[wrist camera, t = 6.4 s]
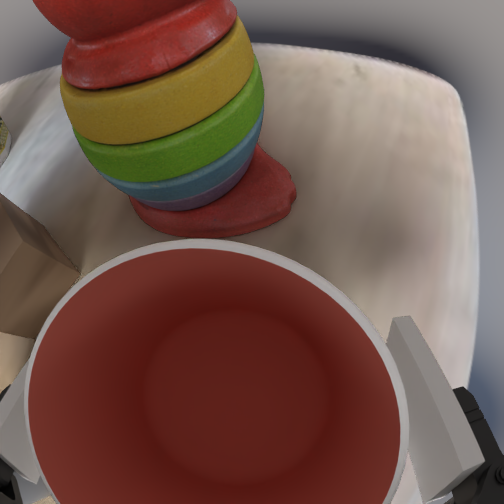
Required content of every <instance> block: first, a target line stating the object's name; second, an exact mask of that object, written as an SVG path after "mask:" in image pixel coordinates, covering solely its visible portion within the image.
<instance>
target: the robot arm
mask: <svg viewBox="0 0 504 504" xmlns="http://www.w3.org/2000/svg"><path fill="white" fill-rule="evenodd" d="M386 345H387V347H388V349H389V351H390V353H391V355H392V357H393V359H394V361H395V363H396V365H397V368H398V371H399V374H400V377H401V380H402V383H403V386H404V390H405V395H406V400H407V405H408V414H409V446H408V452H409V455H410V458H411V461H412V465H413V468H414V472H415V475H416V478H417V482H418V486H419V489H420V493H421V497H422V500H423V504H427V503H430V502H433V501H435V500H438V499H441V498H443V497H445V496H446V495H447V494H448V493H450V492H451V491H452V494H453V497H452V498H451V499H450V500H448V501H447V502H445V503H444V504H504V455H503V454H502V452H501V451H500V449H499V447H498V445H497V442H496V440H495V438H494V436H493V434H492V432H491V430H490V427H489V426H488V423H487V421H486V419H484V415H483V413H482V412H481V410H479V406H478V404H477V402H476V400H475V398H474V396H473V395H472V394H471V393H470V392H469V391H467V390H466V389H465V388H464V387H459V388H456V389H453V390H452V388H451V386H450V385H449V383H448V381H447V379H446V377H445V375H444V373H443V371H442V370H441V368H440V366H439V364H438V362H437V360H436V359H435V357H434V355H433V353H432V352H431V350H430V348H429V346H428V345H427V343H426V341H425V339H424V338H423V336H422V334H421V333H420V331H419V329H418V328H417V326H416V324H415V323H414V321H413V319H412V318H411V316H404V317H396V318H393V319H392V324H391V328H390V332H389V335H388V339H387V343H386ZM29 360H30V358H29V359H28V361H27V362H26V364H25V365H24V366H23V368H22V369H21V371H20V372H19V374H18V375H17V377H16V378H15V380H14V381H13V383H12V384H10V385H9V386H8V387H6V388H5V389H4V390H3V391H2V392H1V394H0V504H23V501H22V498H21V494H20V490H19V486H18V482H17V479H16V477H15V476H14V475H13V473H14V471H16V472H17V473H18V474H19V475H20V476H22V477H23V478H25V479H27V480H29V481H31V482H33V483H35V484H37V482H38V480H39V477H40V473H39V471H38V469H37V466H36V464H35V461H34V458H33V455H32V452H31V448H30V445H29V441H28V436H27V431H26V425H25V415H24V388H25V380H26V372H27V368H28V364H29Z"/></svg>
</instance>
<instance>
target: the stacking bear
mask: <svg viewBox="0 0 504 504" xmlns="http://www.w3.org/2000/svg"><path fill="white" fill-rule="evenodd" d="M33 2H34V4H35V5H36V7H37V8H38V9H39V11H40V12H41V13H42V14H43V15H44V16H45V17H46V18H47V19H48V21H49V22H50V23H51V24H52V25H54V26H55V27H56V28H57V29H59V30H60V31H61V32H63V33H64V34H66V35H67V36H69V37H71V39H70V40H69V42H68V44H67V46H66V49H65V51H64V55H63V60H62V75H61V79H60V91H61V96H62V100H63V103H64V107H65V110H66V112H67V115H68V117H69V119H70V122H71V124H72V127H73V131H74V134H75V136H76V138H77V140H78V142H79V144H80V146H81V148H82V150H83V152H84V153H85V155H86V157H87V158H88V160H89V161H90V162H91V164H92V165H93V166H94V167H95V168H96V170H97V171H98V172H99V173H100V174H101V175H102V176H103V177H104V178H105V179H106V180H107V181H109V182H110V183H111V184H113V185H114V186H115V187H117V188H118V189H119V190H121V191H122V192H124V193H126V194H128V195H129V197H130V200H131V203H132V205H133V207H134V209H135V211H136V212H137V214H138V215H139V216H140V218H141V219H142V220H143V221H144V222H145V223H147V224H148V225H149V226H151V227H153V228H154V229H156V230H158V231H161V232H163V233H166V234H171V235H175V236H181V237H189V238H221V237H229V236H235V235H240V234H244V233H248V232H252V231H255V230H258V229H261V228H263V227H266V226H268V225H271V224H273V223H275V222H277V221H279V220H281V219H282V218H284V217H285V216H286V215H288V214H289V212H290V210H291V203H293V201H294V200H295V199H296V188H295V185H294V183H293V182H292V181H291V175H290V173H289V172H288V170H287V169H286V168H285V167H284V166H282V165H281V164H280V163H279V162H277V161H276V160H274V159H273V158H272V157H270V156H269V155H268V154H266V153H265V152H264V151H263V150H262V149H261V147H260V146H259V145H258V144H257V141H258V138H259V135H260V130H261V125H262V119H263V112H264V87H263V82H262V76H261V72H260V68H259V65H258V61H257V59H256V56H255V54H254V53H253V49H252V46H251V42H250V39H249V37H248V34H247V32H246V30H245V27H244V25H243V23H242V21H241V20H240V18H239V17H238V15H237V10H236V7H235V6H234V4H233V3H232V2H231V1H230V0H33Z"/></svg>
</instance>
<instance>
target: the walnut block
mask: <svg viewBox="0 0 504 504" xmlns="http://www.w3.org/2000/svg"><path fill="white" fill-rule="evenodd" d="M79 275H80V273H79V271H78V270H77V269H76V268H75V266H74V265H73V264H72V263H71V262H70V260H69V259H68V258H67V257H66V255H65V254H64V253H63V251H62V250H61V249H60V248H59V246H58V245H57V244H56V242H55V241H54V240H53V238H52V237H51V236H50V234H49V233H48V232H47V230H46V229H45V227H44V226H43V225H42V224H40V223H39V222H38V221H36V220H35V219H34V218H32V217H31V216H30V215H28V214H27V213H25V212H24V211H23V210H21V209H20V208H19V207H18V206H16V205H15V204H14V203H12V202H11V201H10V200H8V199H7V198H6V197H5V196H3V195H2V194H1V193H0V332H3V333H7V334H12V335H17V336H21V337H26V338H32V339H35V337H36V336H37V334H38V333H39V331H40V330H41V328H42V327H43V325H44V323H45V321H46V319H47V318H48V316H49V315H50V313H51V312H52V311H53V309H54V308H55V306H56V305H57V303H58V302H59V301H60V300H61V299H62V298H63V297H64V295H65V294H66V293H67V291H68V290H69V289H70V287H71V286H72V285H73V283H74V282H75V281H76V279H77V278H78V277H79Z"/></svg>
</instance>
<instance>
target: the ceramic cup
mask: <svg viewBox="0 0 504 504" xmlns="http://www.w3.org/2000/svg"><path fill="white" fill-rule="evenodd" d="M11 140H12V138H11V134H10V133H9V131H8V129H7V127H6V126H5V124H4V122H3V120H2V118H1V117H0V167H1V166H2V164H3V163H4V161H5V159H6V158H7V156H8V155H9V150H10V145H11Z"/></svg>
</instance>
